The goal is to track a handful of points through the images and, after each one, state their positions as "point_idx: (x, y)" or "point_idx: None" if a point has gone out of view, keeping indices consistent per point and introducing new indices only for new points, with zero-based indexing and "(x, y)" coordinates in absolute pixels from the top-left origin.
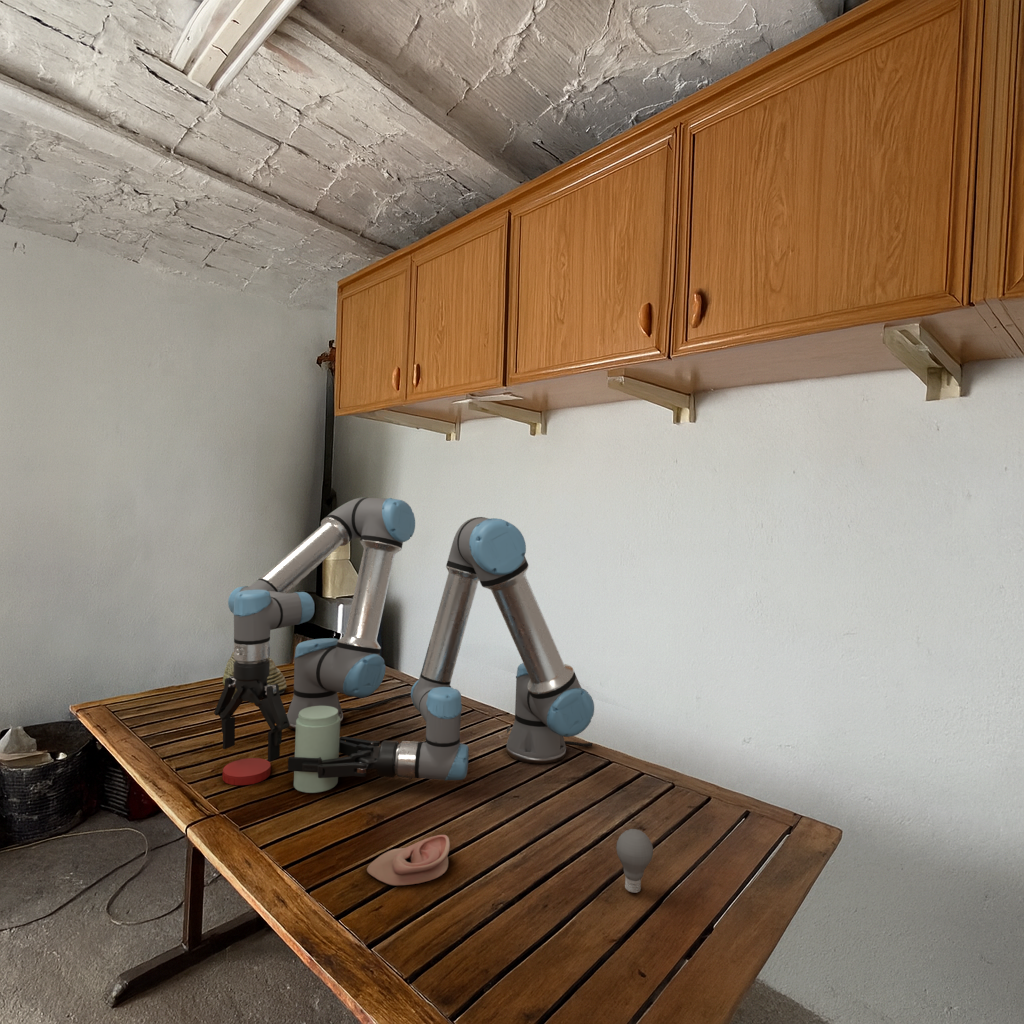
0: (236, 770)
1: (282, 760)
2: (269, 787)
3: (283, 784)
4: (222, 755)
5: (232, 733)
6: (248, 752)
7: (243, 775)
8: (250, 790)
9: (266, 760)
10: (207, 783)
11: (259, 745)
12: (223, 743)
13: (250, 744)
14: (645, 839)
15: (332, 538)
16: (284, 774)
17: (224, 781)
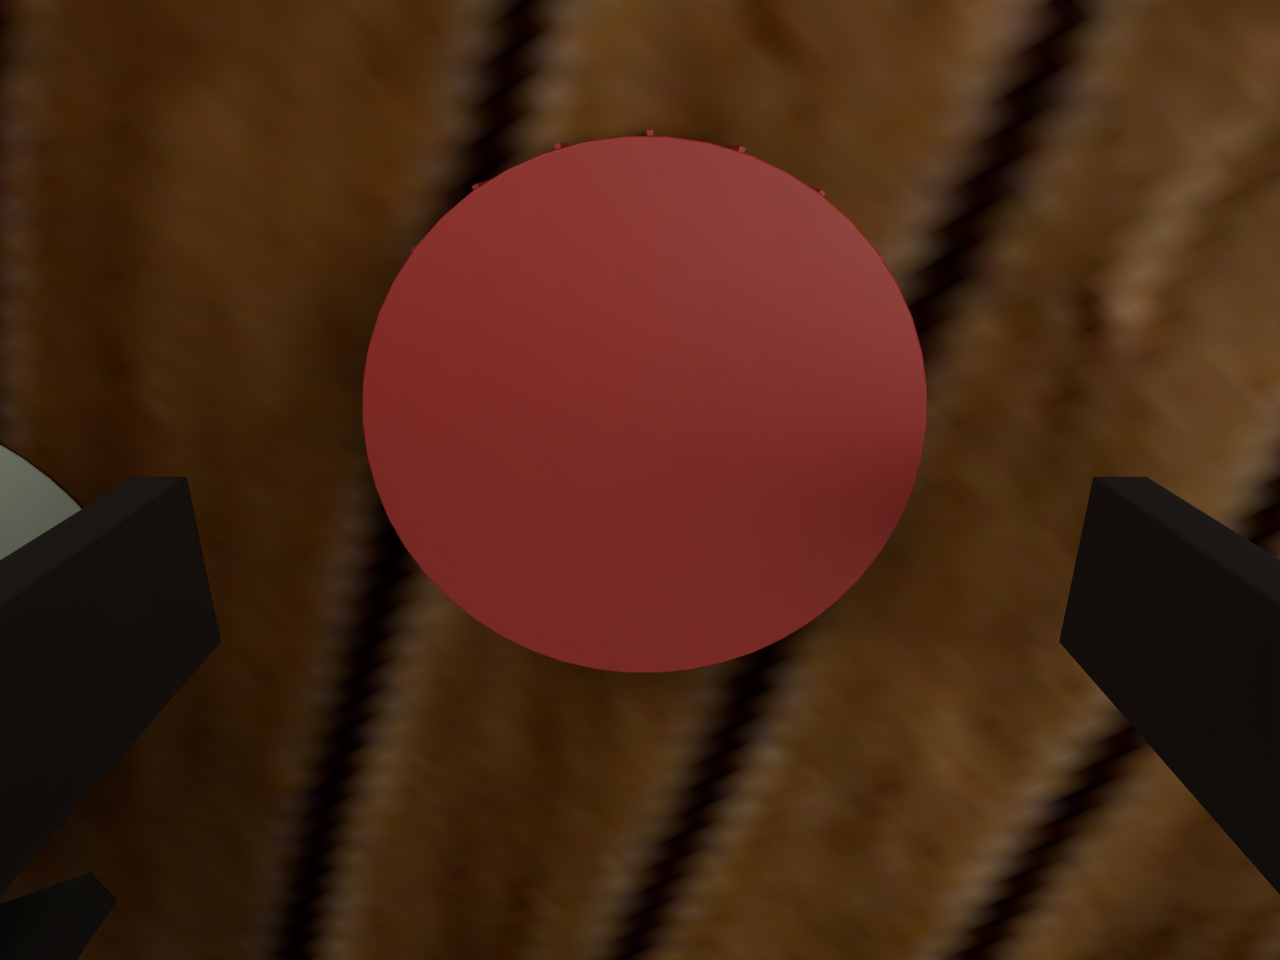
0: (677, 298)
1: (610, 798)
2: (195, 313)
3: (145, 438)
4: None
5: (1186, 726)
6: (1039, 783)
7: (475, 230)
8: (296, 145)
9: (591, 662)
10: (900, 12)
11: (1046, 917)
12: (1185, 512)
13: (1142, 899)
14: None
15: None
16: (340, 604)
17: (731, 145)
